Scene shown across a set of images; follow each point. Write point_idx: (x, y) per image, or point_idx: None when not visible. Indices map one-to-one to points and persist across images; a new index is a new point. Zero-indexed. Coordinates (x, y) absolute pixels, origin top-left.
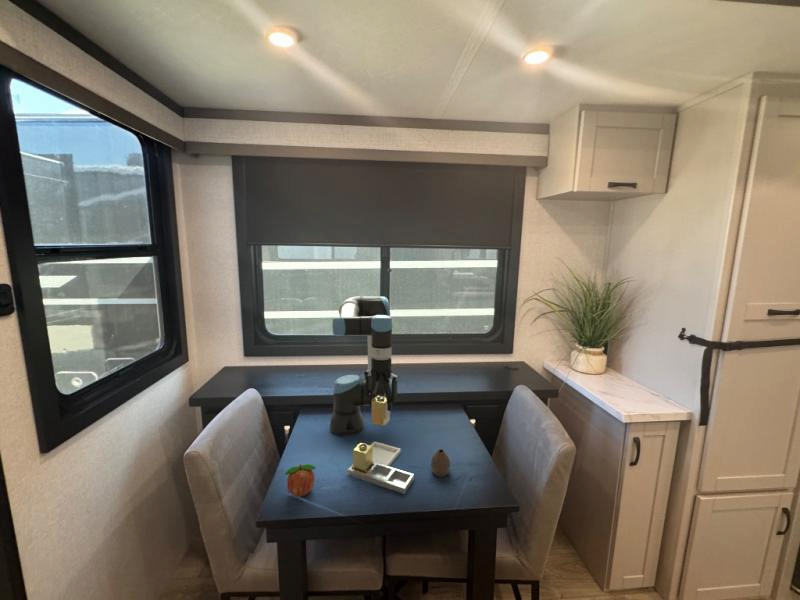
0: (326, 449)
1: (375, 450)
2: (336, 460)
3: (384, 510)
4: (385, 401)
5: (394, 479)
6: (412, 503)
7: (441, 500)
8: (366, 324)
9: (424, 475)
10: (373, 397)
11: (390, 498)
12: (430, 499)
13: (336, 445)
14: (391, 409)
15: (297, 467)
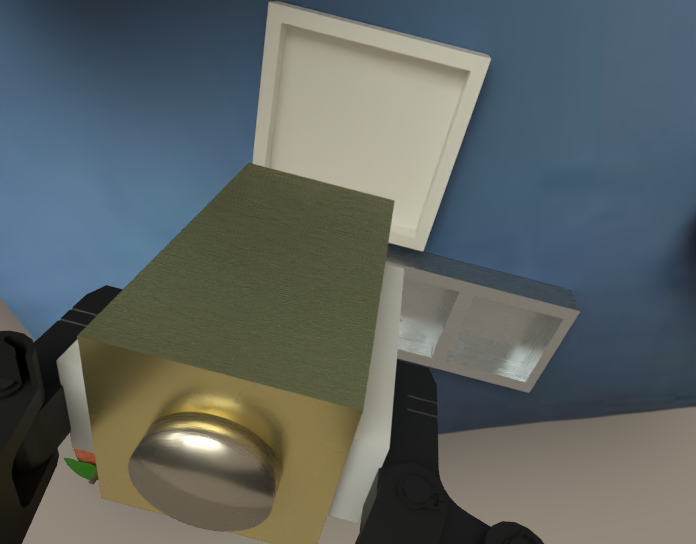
0: (37, 126)
1: (310, 82)
2: (148, 209)
3: (453, 428)
4: (320, 515)
5: (472, 306)
6: (557, 399)
7: (689, 378)
8: None
9: (635, 245)
10: (54, 428)
11: (467, 386)
12: (638, 377)
13: (55, 69)
14: (427, 374)
15: (86, 466)
